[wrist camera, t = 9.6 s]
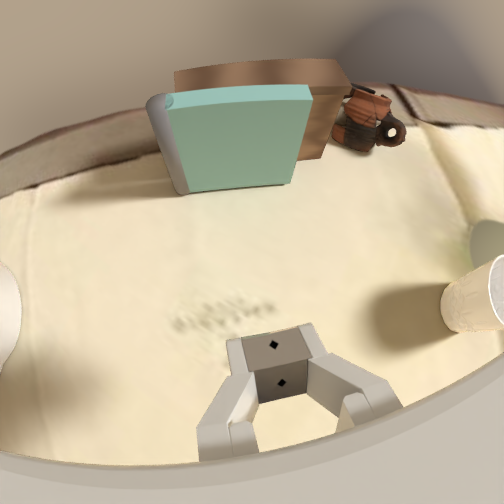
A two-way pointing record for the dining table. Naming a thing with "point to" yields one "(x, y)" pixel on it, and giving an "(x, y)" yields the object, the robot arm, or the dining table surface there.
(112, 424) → the dining table surface
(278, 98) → the teal square slab
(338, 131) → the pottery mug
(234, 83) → the wooden board
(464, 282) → the white cup
